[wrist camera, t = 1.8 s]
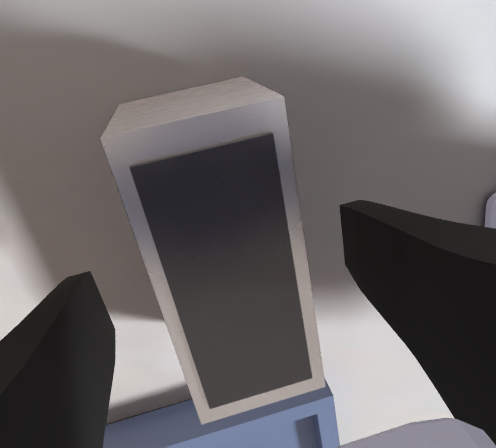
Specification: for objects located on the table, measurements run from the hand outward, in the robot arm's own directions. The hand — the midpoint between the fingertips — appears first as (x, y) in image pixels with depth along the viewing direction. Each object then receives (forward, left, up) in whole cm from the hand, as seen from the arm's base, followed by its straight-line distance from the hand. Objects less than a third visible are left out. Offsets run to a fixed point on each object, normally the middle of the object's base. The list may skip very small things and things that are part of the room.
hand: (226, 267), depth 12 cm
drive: (0, 0, -4) cm, 4 cm away
